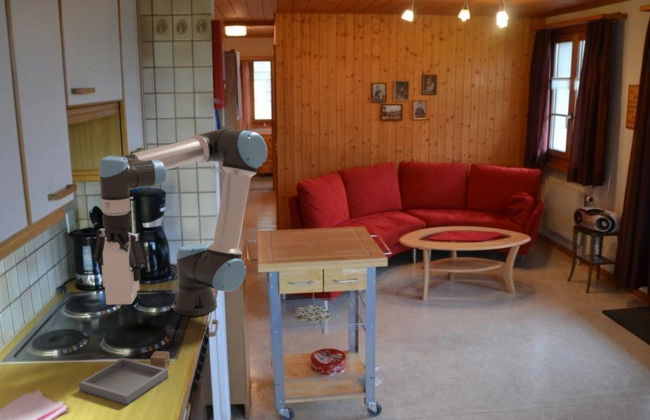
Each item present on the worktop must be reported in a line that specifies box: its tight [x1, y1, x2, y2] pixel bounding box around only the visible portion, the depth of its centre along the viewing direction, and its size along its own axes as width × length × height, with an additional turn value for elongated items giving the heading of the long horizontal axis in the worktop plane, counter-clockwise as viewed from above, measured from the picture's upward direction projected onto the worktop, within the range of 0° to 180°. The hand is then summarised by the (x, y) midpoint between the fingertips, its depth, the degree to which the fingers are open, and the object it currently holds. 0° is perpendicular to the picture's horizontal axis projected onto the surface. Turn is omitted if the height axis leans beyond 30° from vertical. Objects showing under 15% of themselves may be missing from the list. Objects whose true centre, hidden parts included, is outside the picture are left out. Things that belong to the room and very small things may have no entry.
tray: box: [78, 357, 169, 406], centre depth 162 cm, size 16×16×2 cm
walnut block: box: [150, 350, 171, 369], centre depth 172 cm, size 4×4×4 cm
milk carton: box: [103, 236, 138, 306], centre depth 173 cm, size 7×7×19 cm
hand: (121, 288), depth 174 cm, fingers closed on milk carton, 10 cm apart
